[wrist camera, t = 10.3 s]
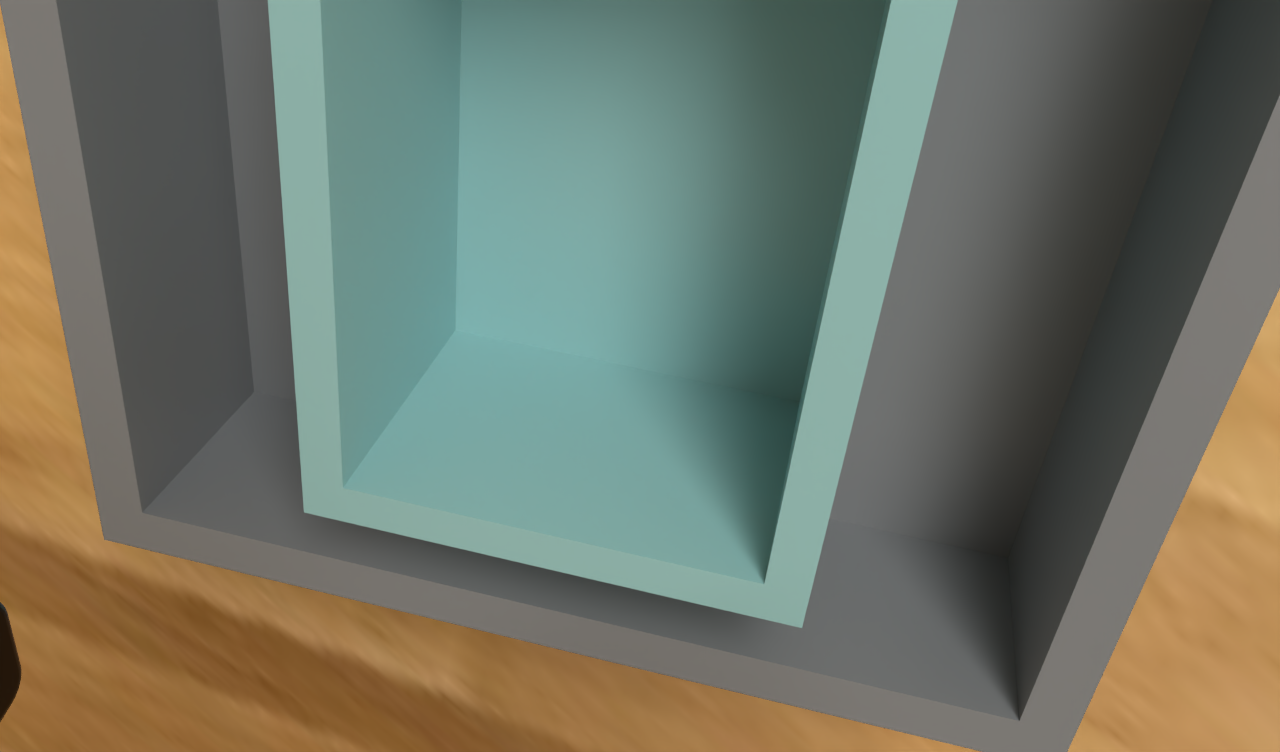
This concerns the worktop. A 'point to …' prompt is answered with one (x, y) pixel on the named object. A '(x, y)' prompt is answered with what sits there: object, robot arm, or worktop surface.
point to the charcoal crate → (891, 391)
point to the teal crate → (595, 272)
